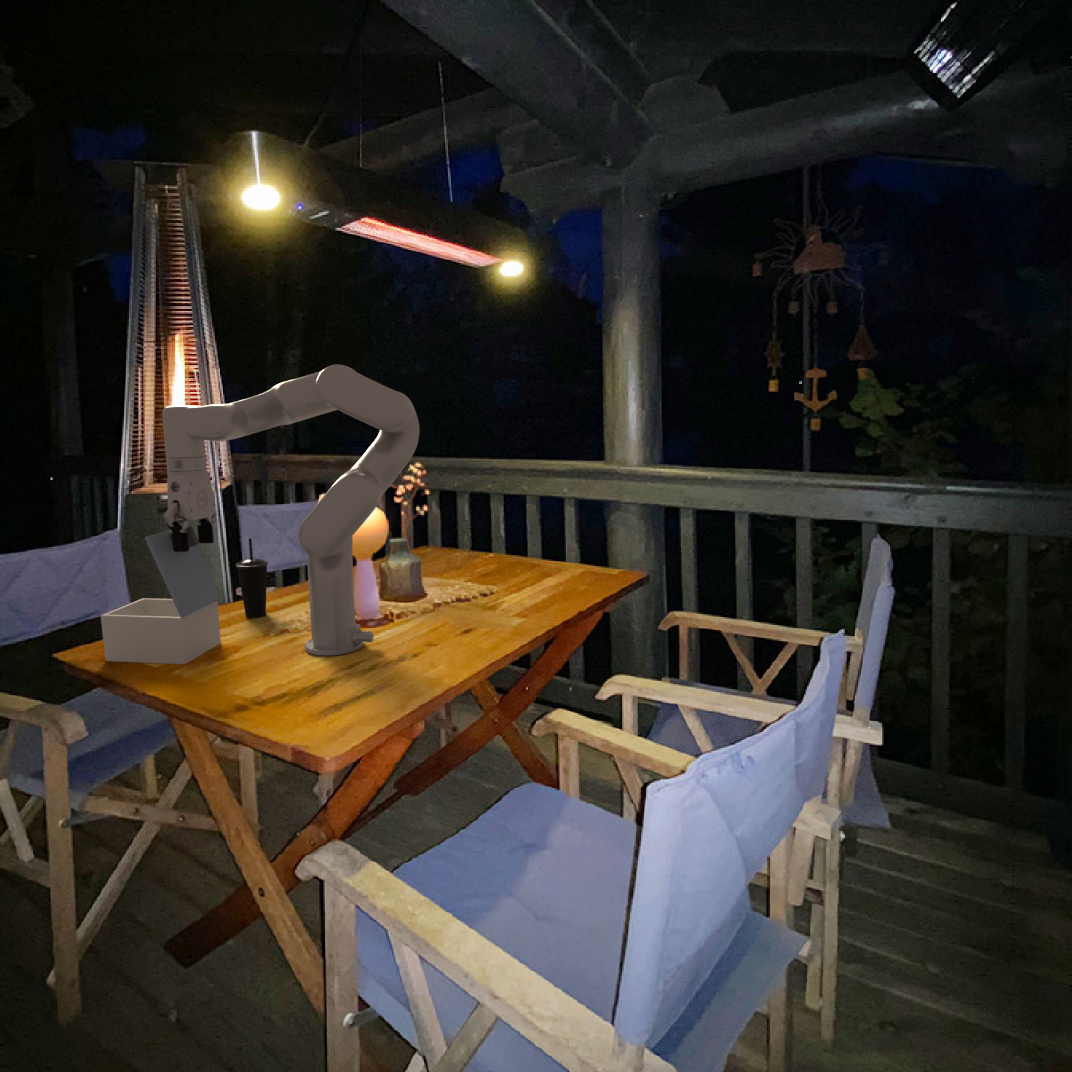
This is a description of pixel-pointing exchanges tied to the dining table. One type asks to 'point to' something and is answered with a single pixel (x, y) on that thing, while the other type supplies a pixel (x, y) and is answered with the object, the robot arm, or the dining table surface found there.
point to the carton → (159, 632)
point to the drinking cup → (253, 584)
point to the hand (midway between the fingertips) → (194, 546)
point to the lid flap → (183, 572)
